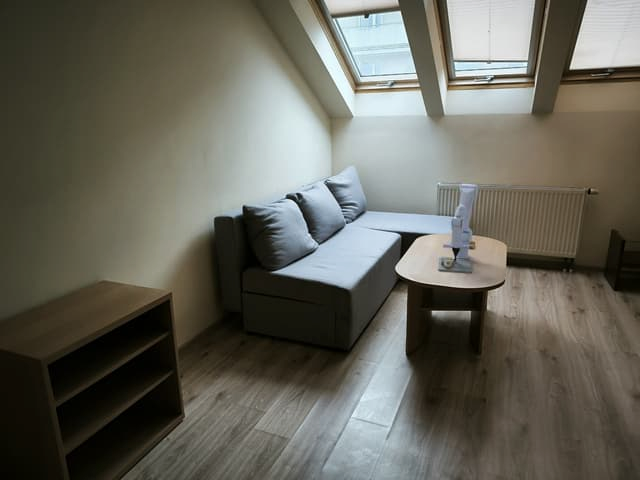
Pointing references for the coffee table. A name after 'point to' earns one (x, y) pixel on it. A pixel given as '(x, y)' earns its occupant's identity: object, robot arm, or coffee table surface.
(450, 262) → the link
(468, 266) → the board
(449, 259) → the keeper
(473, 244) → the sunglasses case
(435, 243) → the coffee table surface
